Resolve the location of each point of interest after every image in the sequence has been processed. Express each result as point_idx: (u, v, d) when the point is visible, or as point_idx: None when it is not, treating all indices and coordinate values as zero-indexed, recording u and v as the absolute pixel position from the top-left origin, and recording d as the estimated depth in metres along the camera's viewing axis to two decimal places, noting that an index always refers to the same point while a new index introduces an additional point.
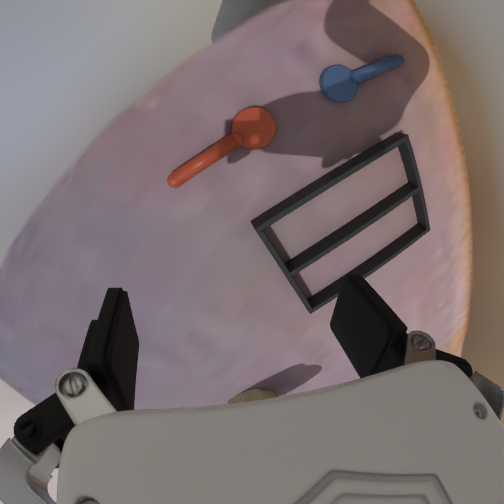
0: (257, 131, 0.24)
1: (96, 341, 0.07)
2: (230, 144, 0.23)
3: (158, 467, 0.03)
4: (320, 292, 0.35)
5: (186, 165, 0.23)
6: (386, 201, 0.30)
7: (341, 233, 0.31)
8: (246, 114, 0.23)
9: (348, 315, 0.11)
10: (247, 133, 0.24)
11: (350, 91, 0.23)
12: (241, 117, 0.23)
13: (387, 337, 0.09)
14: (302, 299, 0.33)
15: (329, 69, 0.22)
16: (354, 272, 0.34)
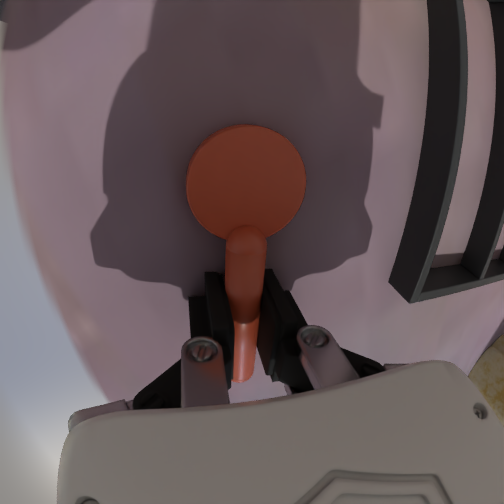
0: (260, 185, 0.09)
1: (215, 310, 0.09)
2: (248, 273, 0.09)
3: (158, 467, 0.03)
4: None
5: None
6: None
7: (502, 163, 0.11)
8: (201, 186, 0.09)
9: None
10: (249, 210, 0.09)
11: None
12: (201, 202, 0.09)
13: (275, 329, 0.09)
14: (502, 278, 0.14)
15: None
16: None
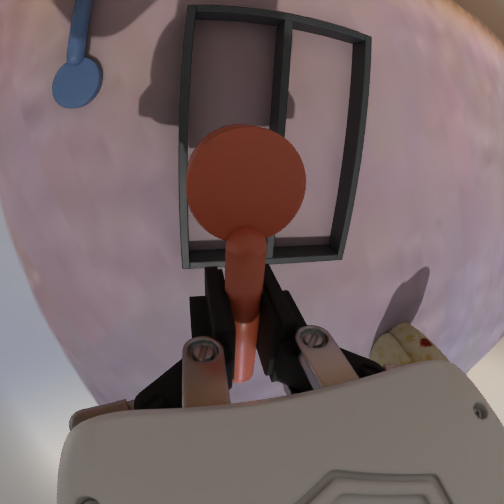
0: (259, 186, 0.09)
1: (216, 310, 0.09)
2: (248, 274, 0.09)
3: (158, 467, 0.03)
4: (333, 226, 0.25)
5: None
6: (276, 76, 0.18)
7: None
8: (201, 187, 0.09)
9: None
10: (249, 211, 0.09)
11: (89, 71, 0.14)
12: (201, 203, 0.09)
13: (274, 329, 0.09)
14: (314, 260, 0.24)
15: (54, 93, 0.14)
16: (344, 173, 0.22)
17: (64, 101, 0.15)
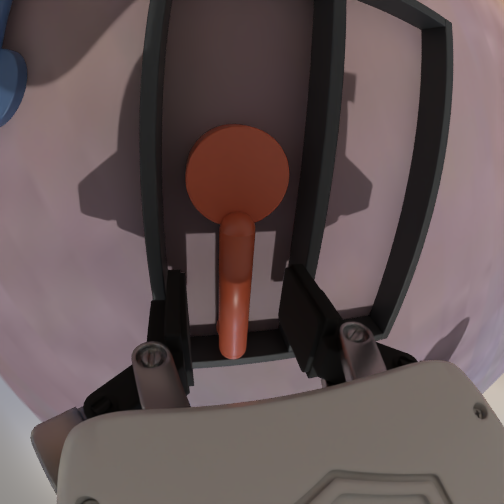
0: (248, 177, 0.10)
1: (169, 315, 0.09)
2: (238, 252, 0.11)
3: (158, 467, 0.03)
4: (379, 294, 0.17)
5: (222, 329, 0.13)
6: (317, 65, 0.09)
7: (303, 223, 0.12)
8: (198, 177, 0.10)
9: (290, 305, 0.12)
10: (239, 198, 0.11)
11: (5, 70, 0.06)
12: (198, 191, 0.10)
13: (317, 326, 0.09)
14: None
15: None
16: (405, 224, 0.14)
17: None
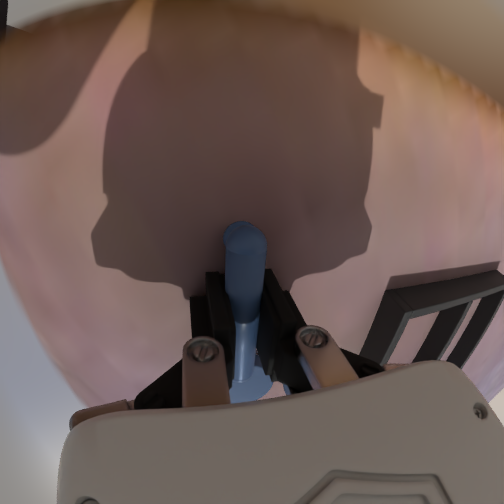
0: None
1: (216, 310, 0.09)
2: None
3: (158, 467, 0.03)
4: None
5: None
6: (432, 341, 0.17)
7: None
8: None
9: None
10: None
11: (260, 379, 0.14)
12: None
13: (274, 329, 0.09)
14: None
15: None
16: None
17: None
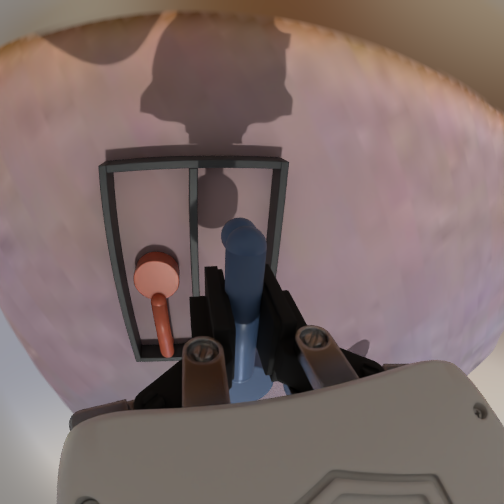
0: (160, 280, 0.23)
1: (216, 310, 0.09)
2: (159, 312, 0.24)
3: (158, 467, 0.03)
4: None
5: (159, 343, 0.26)
6: (189, 221, 0.22)
7: None
8: (139, 281, 0.23)
9: None
10: (158, 289, 0.23)
11: (259, 379, 0.14)
12: (140, 286, 0.23)
13: (274, 329, 0.09)
14: None
15: None
16: None
17: None
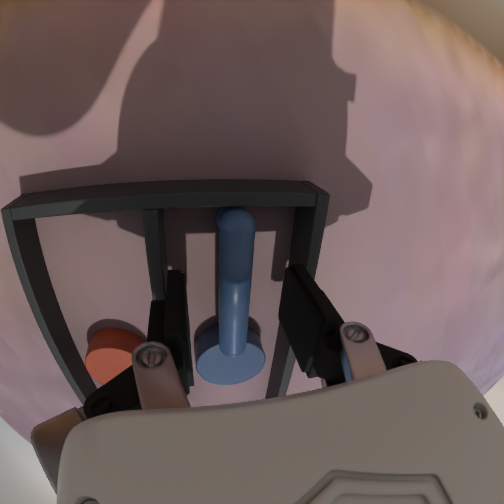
0: None
1: (169, 315, 0.09)
2: None
3: (158, 467, 0.03)
4: None
5: None
6: None
7: None
8: (93, 370, 0.13)
9: (289, 305, 0.12)
10: None
11: (252, 356, 0.15)
12: (96, 375, 0.14)
13: (317, 326, 0.09)
14: None
15: (200, 372, 0.15)
16: (274, 371, 0.18)
17: (217, 380, 0.16)
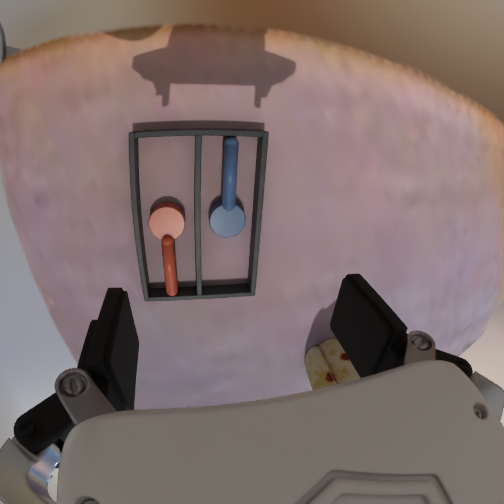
0: (169, 223, 0.30)
1: (96, 341, 0.07)
2: (167, 250, 0.30)
3: (158, 467, 0.03)
4: (248, 272, 0.36)
5: (165, 281, 0.32)
6: (194, 177, 0.29)
7: None
8: (153, 224, 0.29)
9: (348, 315, 0.11)
10: (167, 231, 0.30)
11: (238, 215, 0.31)
12: (153, 229, 0.30)
13: (387, 337, 0.09)
14: (232, 296, 0.35)
15: (211, 225, 0.31)
16: (252, 237, 0.34)
17: (220, 232, 0.31)
